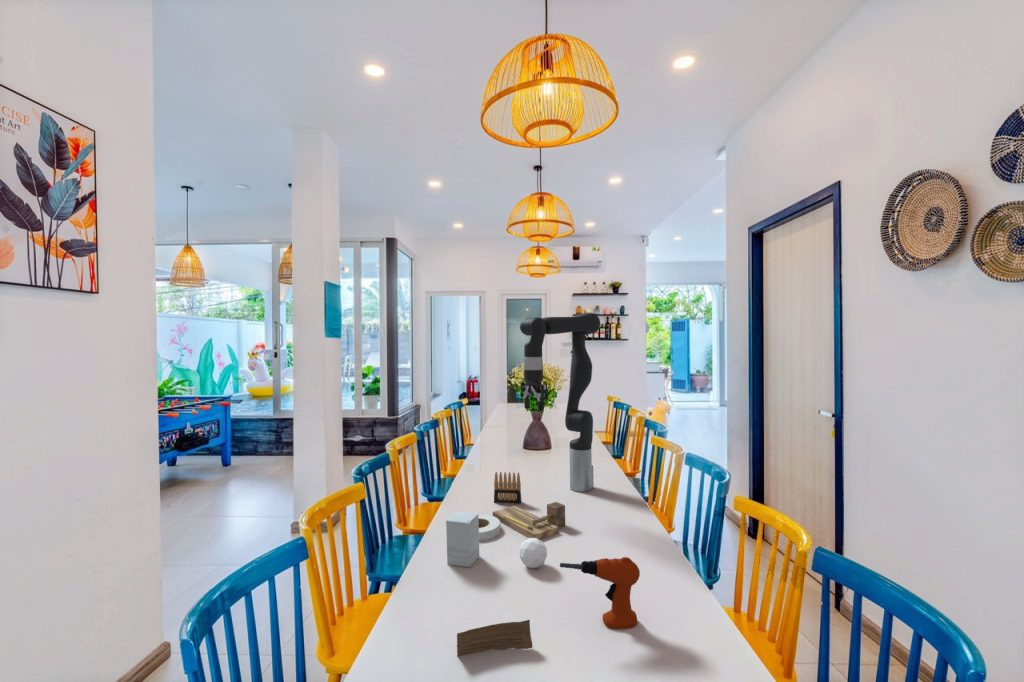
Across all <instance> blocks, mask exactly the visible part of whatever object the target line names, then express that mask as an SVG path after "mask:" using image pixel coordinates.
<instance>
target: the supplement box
mask: <svg viewBox="0 0 1024 682" xmlns="http://www.w3.org/2000/svg"><path fill="white" fill-rule="evenodd" d="M478 514H479V513H474V512H463V511H456V512H454V513H453V514H452V515H451V516H450V517H449V518H447V519H446V521H445V523H446V525H445V527H446V562H447V565H452V566H457V567H458V566H459V567H464V568H472V566H473V564H474V563H475V562H476V561H477V560H478V559H479V558H480V540H479V528H480V527H479V518H478Z"/></svg>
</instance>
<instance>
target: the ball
mask: <svg viewBox="0 0 1024 682" xmlns="http://www.w3.org/2000/svg"><path fill="white" fill-rule="evenodd" d="M547 557H548V549H547V546H546V545H545V544H544V542H543V541H542V540H541V539H537V538H527V539H526V540H524V541H523V542H522V543H521V546H520V548H519V558H520V561H521V562H522V563H523V565H524V566H526V567H528V568H530V569H538V568H539V567H541V566H543V565H544V564H545V563H546V559H547Z"/></svg>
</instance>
